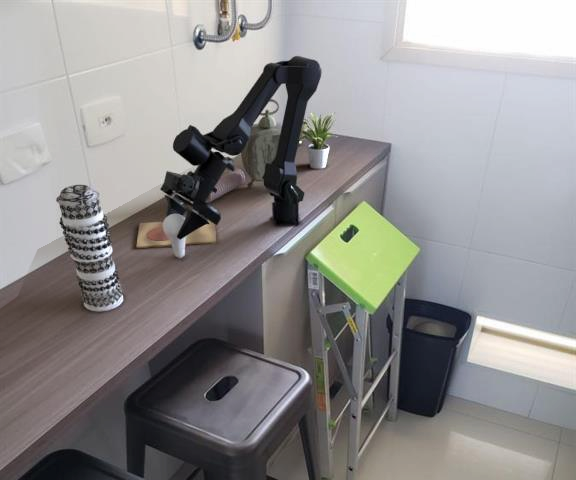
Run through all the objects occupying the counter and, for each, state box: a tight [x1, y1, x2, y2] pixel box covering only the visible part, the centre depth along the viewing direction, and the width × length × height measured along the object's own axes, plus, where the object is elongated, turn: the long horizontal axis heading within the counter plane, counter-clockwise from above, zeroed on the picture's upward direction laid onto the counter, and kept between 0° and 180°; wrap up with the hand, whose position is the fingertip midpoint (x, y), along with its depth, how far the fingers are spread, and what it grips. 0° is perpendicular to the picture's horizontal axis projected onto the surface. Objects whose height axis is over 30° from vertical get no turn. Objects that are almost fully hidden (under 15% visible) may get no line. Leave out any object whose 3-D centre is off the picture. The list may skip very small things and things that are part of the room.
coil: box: [206, 168, 246, 204], centre depth 174 cm, size 5×5×18 cm
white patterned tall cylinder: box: [55, 184, 124, 313], centre depth 121 cm, size 9×9×25 cm
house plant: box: [299, 111, 338, 170], centre depth 187 cm, size 14×14×16 cm
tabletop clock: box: [240, 98, 283, 189], centre depth 169 cm, size 14×9×25 cm, turn 108°
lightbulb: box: [162, 214, 186, 259], centre depth 141 cm, size 6×6×11 cm
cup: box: [298, 118, 309, 147], centre depth 206 cm, size 8×7×8 cm
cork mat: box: [135, 220, 217, 249], centre depth 154 cm, size 20×14×1 cm
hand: (171, 233), depth 139 cm, fingers closed on lightbulb, 6 cm apart
